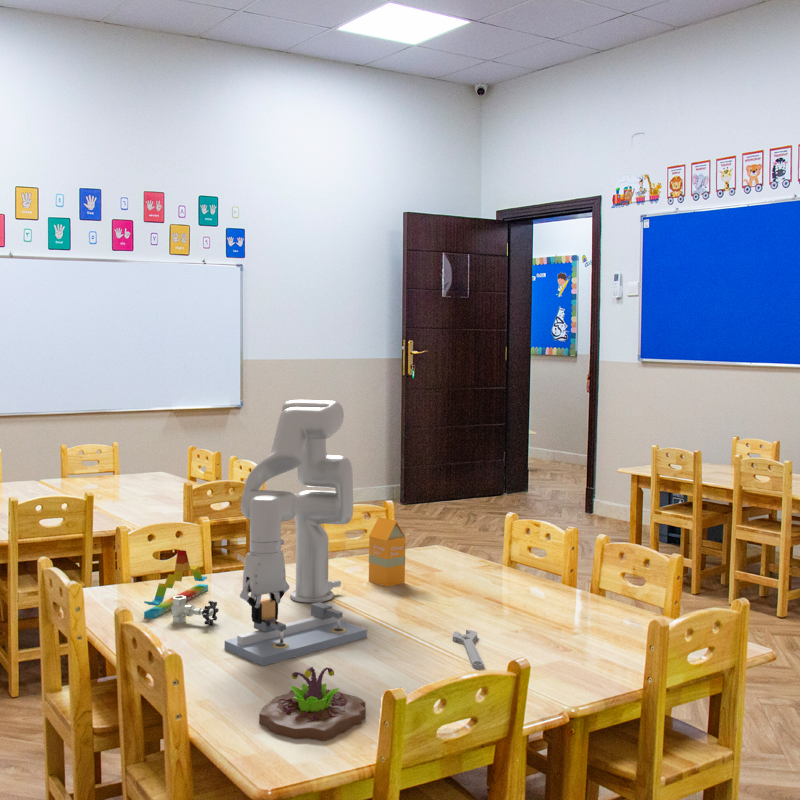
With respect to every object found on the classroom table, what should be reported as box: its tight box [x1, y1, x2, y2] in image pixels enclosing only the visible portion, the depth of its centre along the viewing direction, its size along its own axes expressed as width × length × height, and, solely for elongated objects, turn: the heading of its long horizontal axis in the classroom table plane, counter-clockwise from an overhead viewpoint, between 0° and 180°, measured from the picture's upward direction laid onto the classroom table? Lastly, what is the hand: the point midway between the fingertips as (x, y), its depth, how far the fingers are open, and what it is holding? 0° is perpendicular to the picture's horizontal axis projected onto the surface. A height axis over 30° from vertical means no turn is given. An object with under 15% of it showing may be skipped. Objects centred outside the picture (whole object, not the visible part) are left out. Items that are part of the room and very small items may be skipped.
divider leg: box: [253, 597, 286, 643], centre depth 220 cm, size 4×10×9 cm, turn 43°
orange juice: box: [368, 516, 406, 588], centre depth 285 cm, size 8×9×20 cm
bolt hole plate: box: [224, 602, 368, 667], centre depth 225 cm, size 32×16×7 cm, turn 134°
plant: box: [258, 666, 367, 742], centre depth 180 cm, size 20×20×11 cm
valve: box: [170, 595, 220, 626], centre depth 240 cm, size 7×7×12 cm
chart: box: [143, 549, 209, 619], centre depth 258 cm, size 30×3×15 cm, turn 164°
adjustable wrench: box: [452, 629, 484, 670], centre depth 222 cm, size 25×6×2 cm, turn 0°
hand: (264, 619), depth 222 cm, fingers closed on divider leg, 4 cm apart
